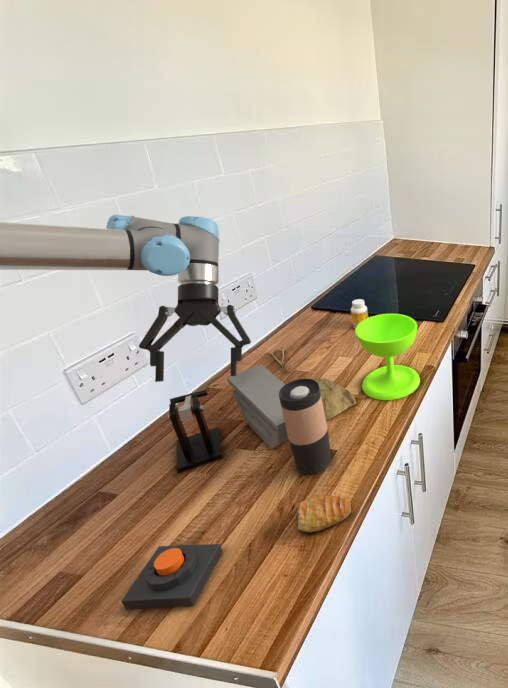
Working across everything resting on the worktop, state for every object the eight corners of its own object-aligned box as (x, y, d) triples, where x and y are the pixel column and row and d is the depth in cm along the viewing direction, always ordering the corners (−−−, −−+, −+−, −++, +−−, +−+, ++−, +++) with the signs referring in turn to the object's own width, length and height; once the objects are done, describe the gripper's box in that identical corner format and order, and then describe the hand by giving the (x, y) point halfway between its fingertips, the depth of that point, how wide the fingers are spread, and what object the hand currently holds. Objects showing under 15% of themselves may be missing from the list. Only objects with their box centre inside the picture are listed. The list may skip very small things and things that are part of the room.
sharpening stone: (237, 413, 108) (226, 377, 103) (269, 398, 114) (260, 364, 109) (286, 464, 95) (276, 425, 90) (319, 444, 100) (312, 407, 95)
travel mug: (289, 461, 95) (271, 388, 86) (322, 444, 100) (309, 373, 92) (304, 481, 91) (287, 406, 82) (338, 462, 96) (326, 389, 87)
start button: (151, 576, 69) (148, 569, 68) (166, 555, 72) (163, 548, 71) (175, 575, 69) (172, 568, 68) (189, 554, 72) (186, 547, 71)
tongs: (280, 374, 124) (279, 368, 123) (269, 355, 133) (267, 350, 132) (296, 369, 126) (295, 363, 125) (283, 351, 135) (282, 345, 134)
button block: (125, 609, 67) (116, 594, 66) (162, 554, 75) (155, 539, 74) (193, 605, 68) (186, 590, 67) (222, 551, 76) (217, 537, 75)
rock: (358, 386, 117) (318, 385, 114) (357, 376, 109) (315, 375, 107) (354, 426, 112) (312, 427, 109) (353, 419, 105) (308, 419, 102)
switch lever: (172, 405, 100) (169, 396, 99) (208, 395, 104) (205, 386, 103) (166, 425, 89) (163, 415, 89) (207, 414, 93) (204, 404, 92)
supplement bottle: (353, 323, 152) (350, 298, 148) (369, 322, 154) (366, 297, 149) (352, 330, 148) (349, 305, 143) (368, 329, 149) (365, 304, 145)
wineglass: (401, 360, 133) (397, 308, 125) (431, 384, 123) (429, 329, 115) (351, 380, 123) (344, 325, 115) (380, 408, 113) (374, 349, 105)
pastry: (351, 496, 88) (348, 483, 86) (351, 525, 82) (349, 511, 81) (300, 508, 85) (297, 494, 83) (297, 538, 79) (294, 525, 78)
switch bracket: (177, 443, 98) (160, 399, 93) (219, 431, 102) (205, 387, 97) (178, 473, 91) (159, 426, 85) (222, 458, 95) (207, 412, 90)
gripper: (262, 287, 107) (263, 373, 105) (135, 287, 96) (132, 383, 94) (259, 282, 100) (260, 374, 98) (121, 281, 90) (118, 384, 87)
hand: (197, 378), depth 96 cm, fingers open, 13 cm apart
